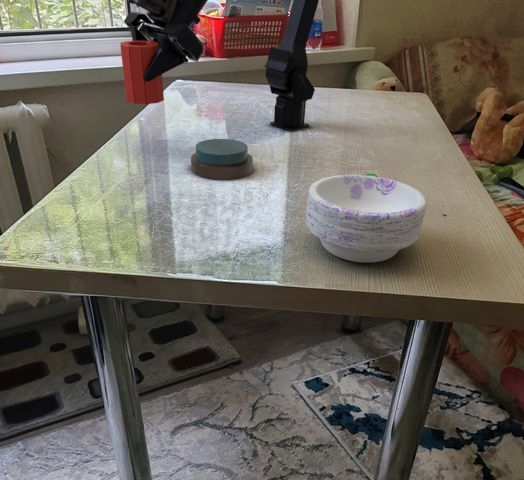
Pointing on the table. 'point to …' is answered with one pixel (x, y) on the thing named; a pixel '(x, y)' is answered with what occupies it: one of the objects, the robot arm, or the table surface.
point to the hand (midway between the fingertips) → (135, 76)
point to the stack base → (221, 170)
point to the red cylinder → (140, 72)
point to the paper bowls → (364, 216)
